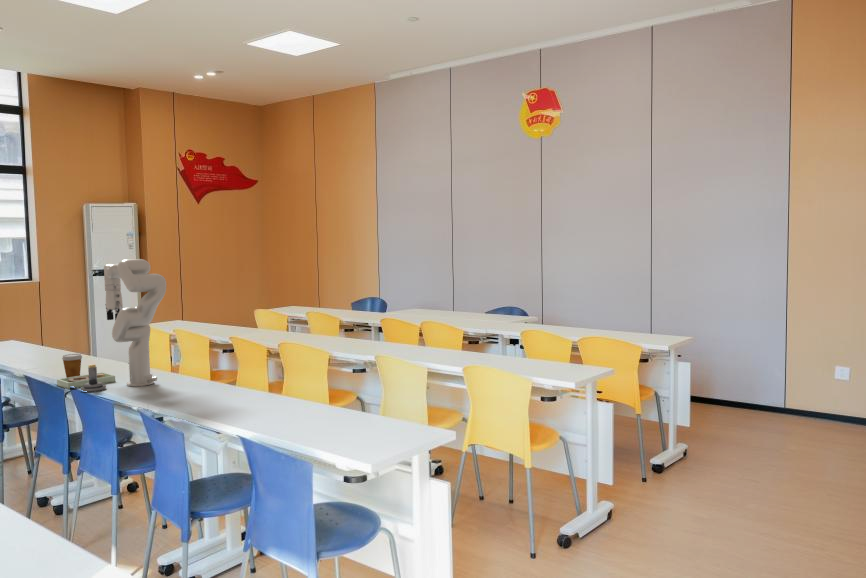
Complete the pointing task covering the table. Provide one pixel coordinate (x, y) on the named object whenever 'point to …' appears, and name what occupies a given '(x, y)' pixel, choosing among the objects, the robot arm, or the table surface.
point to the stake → (93, 381)
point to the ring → (84, 378)
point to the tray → (84, 381)
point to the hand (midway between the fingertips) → (114, 320)
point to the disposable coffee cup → (72, 364)
